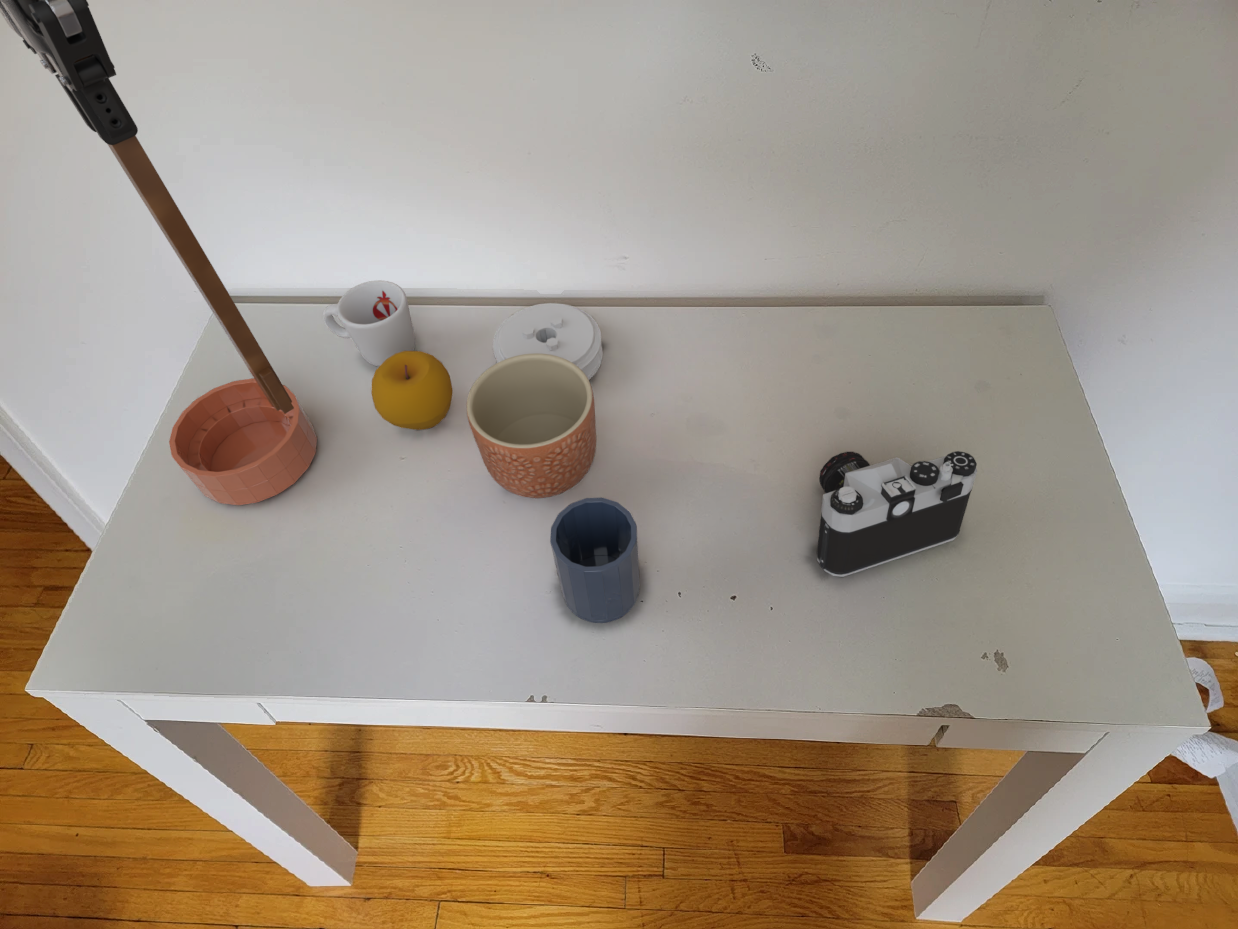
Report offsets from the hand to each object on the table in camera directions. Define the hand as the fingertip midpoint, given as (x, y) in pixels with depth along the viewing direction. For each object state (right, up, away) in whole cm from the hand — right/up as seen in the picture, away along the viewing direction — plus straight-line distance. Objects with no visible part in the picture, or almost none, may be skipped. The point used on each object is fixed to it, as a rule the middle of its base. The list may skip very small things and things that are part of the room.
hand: (115, 131), depth 50 cm
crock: (+31, -34, +23) cm, 52 cm away
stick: (+1, -16, +22) cm, 27 cm away
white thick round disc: (+25, -10, +42) cm, 50 cm away
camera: (+58, -27, +27) cm, 70 cm away
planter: (+25, -22, +33) cm, 47 cm away
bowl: (-7, -21, +35) cm, 41 cm away
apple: (+11, -17, +37) cm, 42 cm away
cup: (+4, -8, +44) cm, 45 cm away
